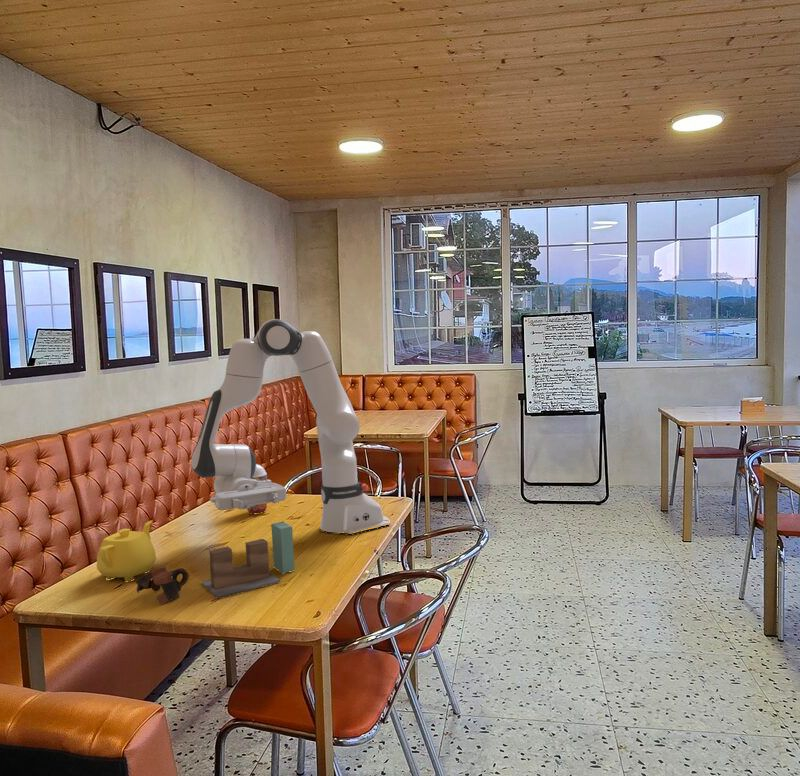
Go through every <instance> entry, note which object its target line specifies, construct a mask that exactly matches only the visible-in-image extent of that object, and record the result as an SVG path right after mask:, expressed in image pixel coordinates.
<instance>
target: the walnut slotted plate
mask: <svg viewBox="0 0 800 776" xmlns="http://www.w3.org/2000/svg"><path fill="white" fill-rule="evenodd" d="M244 543H245V558H246V563H243V564H239V565H235V566H234V562H233V559H234V558H233V549H232V548H230V547H229V546H224V547H220V548H219V547H218V548H214V549H211V550H208V553H209V554H208V555H209V556H208V557H209V572H210V579H209V580H204V581H202V582H201V585H202V586H203V587H204V586H205V587H206V588H207V589H208V590H207V589H206V588H205V587H204V588H205V589H206V590H207V591H208V592H209V593H210V594H212V596H213V597H215V598H216V597H217V598H220V599H223V598H222V597H224V598H226V596H227V597H230V596H229V595H231V596H234V595H233V594H235V595H238V594H237V593H239V594H241V592H243V593H246V592H249V590H250V591H253V589H254V590H257V589H256V588H258V589H260V588H259V587H261V588H264V587H263V586H265V587H267V586H266V585H269V586H272V585H271V584H273V585H275V584H274V583H276V584H279V583H278V582H280V583H281V579H279V577H276V576H275V574H273V573H271V572H270V562H269V561H270V560H269V547H268V544H269V543H268V541H267V540H266V539H264V538H260V539H256V540H251V541H246V542H244ZM245 591H246V592H245ZM217 598H216V599H217Z"/></svg>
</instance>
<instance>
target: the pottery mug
mask: <svg viewBox="0 0 800 776" xmlns="http://www.w3.org/2000/svg"><path fill="white" fill-rule="evenodd" d="M179 575H182V577H181V579H180V581H179V580H178V576H179ZM188 580H189V572H188V571H187V569H186V568H184V567H178V568H176V569H173V570H167V568H166V566H161V567H159V568H157V569H154V570H152V571H150V572H149V573H145V574H143V575H142V576H141V577H139V578H138V579H137V580H136V581H135V583H136V584H137V586H136V593H138V594H139V593H140V592H141V591H143V590H150V589H151V590H152V591H153V592H154V591H157V592H158V591H160V590H161V589H162V591H163V592H161V593H160V594H159V595H157V596H156V600H157V602H158V605H160V606H161V605H164V604H166V603H167V602H169V601H172V600H175V599H177V598H179V597H180V592H181V590H182V587H184V586H185V584H186V583H187V582H188Z"/></svg>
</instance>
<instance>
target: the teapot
mask: <svg viewBox="0 0 800 776" xmlns="http://www.w3.org/2000/svg"><path fill="white" fill-rule="evenodd" d="M152 523H153V520H149V521H147V522H146V523H145V524H144V525H143V528H142V531H135V530H133V531H132V530H131V528H121V529H119V530H118V531H117V532H116V533H114V534H110V535H109V536H106V537H104V538H103V540H102V542H101V544H100V547H99V549H98V553H97V557H96V569H97V571H98V572H99V573H100V574H101V575H102V576H105V579H106V578H107V579H111V578H114V577H116V578H123V579H124V580H125V581H131V580H133V579H135V576H138V575H141V573H145V572H148V571H149V570H150V569H151V568H153V566H155V565H154V564H155V563H156V559H157V555H156V550H155V547H154V545H153V543H152V541H151V535H150V527H151V525H152ZM145 574H146V573H145ZM131 582H132V581H131Z"/></svg>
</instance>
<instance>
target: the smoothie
mask: <svg viewBox="0 0 800 776" xmlns="http://www.w3.org/2000/svg"><path fill="white" fill-rule="evenodd" d="M252 479H256V480H257V479H268V473H267V472H266V470H265V468H264V467H263V466H262V465H261V464H258V463H256V468H255V473H254V475H253V477H252ZM267 504H268V503H265V504H259V505H255V506H252V507H250V508H248V509H246V510H247V511H248V513H249V512H250V513H261V512H264V511H265V512H266V510H267V507H268V505H267ZM265 512H264V513H265ZM250 513H249V514H250ZM261 514H262V513H261Z"/></svg>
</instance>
